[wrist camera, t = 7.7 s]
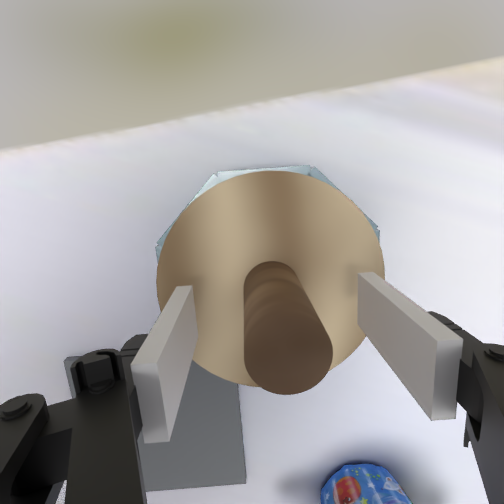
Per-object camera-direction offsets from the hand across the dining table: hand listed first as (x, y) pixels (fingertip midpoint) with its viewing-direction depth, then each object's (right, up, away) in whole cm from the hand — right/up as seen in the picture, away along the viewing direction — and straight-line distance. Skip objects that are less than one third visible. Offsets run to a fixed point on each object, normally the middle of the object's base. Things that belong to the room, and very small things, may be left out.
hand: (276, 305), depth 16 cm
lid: (0, +1, +4) cm, 4 cm away
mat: (-9, -13, +13) cm, 20 cm away
